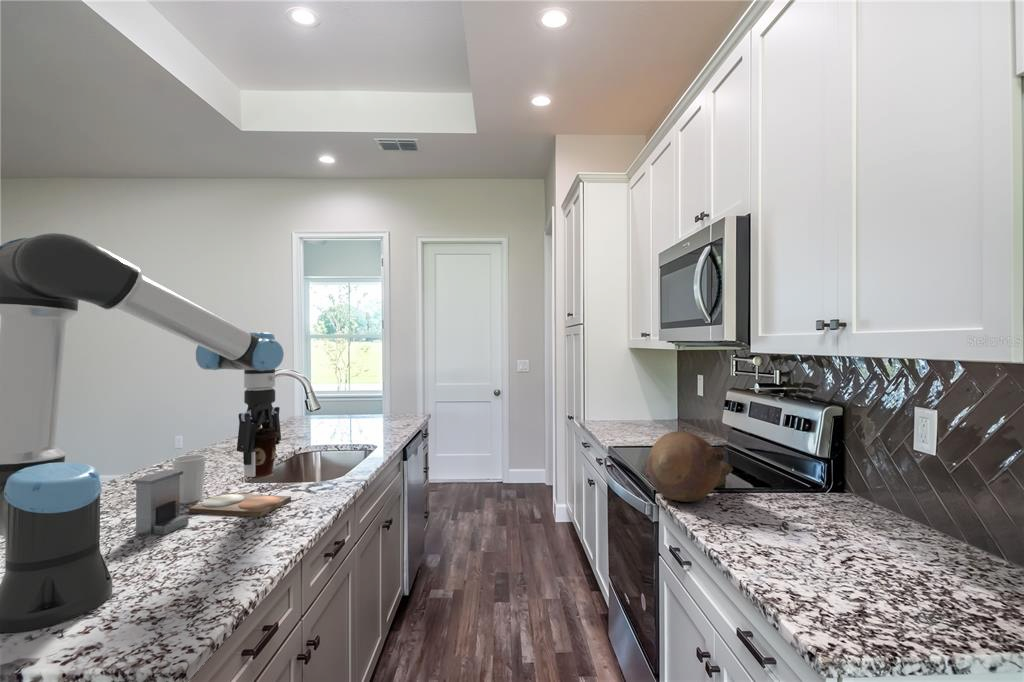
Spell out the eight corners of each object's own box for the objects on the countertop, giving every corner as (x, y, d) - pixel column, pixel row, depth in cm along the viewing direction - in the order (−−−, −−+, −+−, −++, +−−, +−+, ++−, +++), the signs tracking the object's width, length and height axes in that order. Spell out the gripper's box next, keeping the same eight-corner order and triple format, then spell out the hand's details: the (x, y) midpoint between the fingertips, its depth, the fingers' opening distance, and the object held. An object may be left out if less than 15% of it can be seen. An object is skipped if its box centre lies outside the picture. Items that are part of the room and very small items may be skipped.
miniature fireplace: (160, 536, 111) (160, 481, 111) (132, 534, 112) (132, 480, 112) (191, 522, 120) (191, 471, 120) (165, 520, 121) (165, 470, 121)
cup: (211, 498, 138) (211, 456, 138) (180, 506, 132) (180, 462, 132) (197, 493, 143) (197, 453, 143) (167, 501, 136) (167, 458, 136)
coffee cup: (262, 481, 126) (261, 432, 125) (234, 480, 127) (234, 431, 127) (284, 472, 134) (284, 426, 134) (258, 471, 136) (258, 425, 136)
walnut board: (260, 516, 123) (260, 511, 123) (188, 512, 126) (188, 507, 126) (291, 500, 136) (291, 495, 136) (224, 497, 139) (224, 491, 139)
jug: (679, 516, 123) (744, 514, 140) (700, 444, 122) (763, 450, 138) (624, 481, 140) (687, 483, 157) (642, 418, 139) (704, 426, 155)
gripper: (246, 392, 120) (246, 483, 120) (294, 385, 140) (295, 463, 140) (219, 392, 121) (219, 482, 121) (271, 385, 141) (271, 462, 141)
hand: (260, 472), depth 131 cm, fingers closed on coffee cup, 8 cm apart
